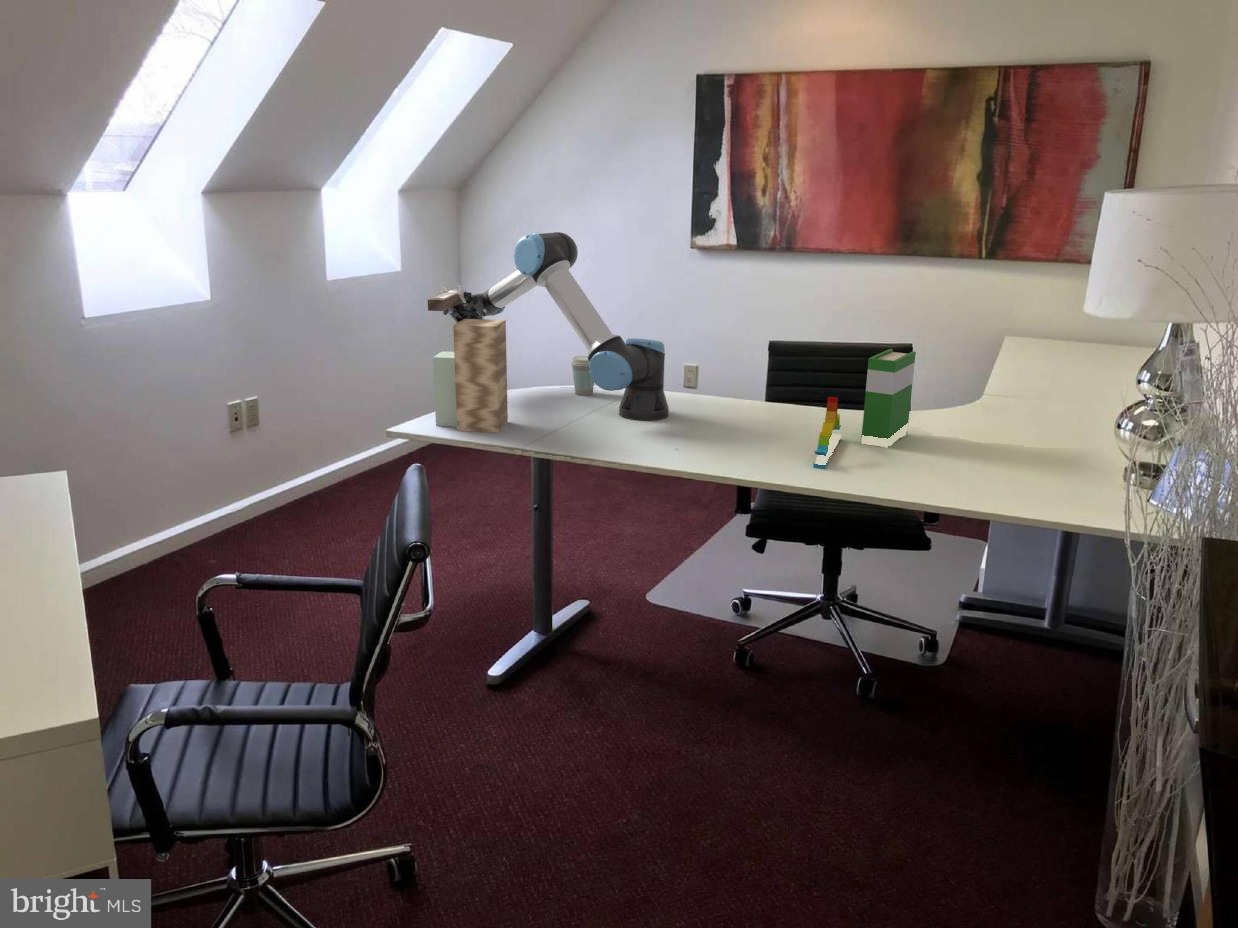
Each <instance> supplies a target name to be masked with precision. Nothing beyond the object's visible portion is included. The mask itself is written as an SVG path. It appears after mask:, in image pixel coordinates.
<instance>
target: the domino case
mask: <svg viewBox="0 0 1238 928" xmlns="http://www.w3.org/2000/svg"><path fill="white" fill-rule="evenodd" d="M464 290H465V289H464ZM465 292H467V291H466V290H465ZM462 302H463V301H462V300H461V298H460V297H459V295H458V290H454V289H450V290H447V292H445V293H442V294H440V293H439V294H437V295H435V296H433V297H430V298H428V299H427V311H429V312H431V311H432V312H443V311H445V310H447V309H450V308H452V307H454V306H456V305H458V304H460V303H462Z"/></svg>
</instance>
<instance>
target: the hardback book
mask: <svg viewBox="0 0 1238 928" xmlns="http://www.w3.org/2000/svg"><path fill="white" fill-rule="evenodd" d="M916 353H917V352H916V351H910V352H909V353H905V352H904V353H903V352H895V351H894V349H893V348H889V349H887V350H884V351H882V352H880V353H877V354H875V355H874V356H873V355H872V356H871V357H869V358H868V361H867V373H866V374H867V375H866V384H865V396H864V406H863V416H862V417H863V418H862V426H861V427H862V428H861V436H862V435H864V436H873V437H878V438H887V439H888V438H890V437H891V436H892V435H894V433H896V432H897V431H898V430H900V428H902V427H903V426H904V425H906V424H907V423H908V424H909V421H910V420H909V419H910V410H911V400H912V392H913V391H912V390H913V381H914V372H915V365H916V364H915V363H916Z"/></svg>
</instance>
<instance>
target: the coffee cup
mask: <svg viewBox="0 0 1238 928" xmlns="http://www.w3.org/2000/svg"><path fill="white" fill-rule="evenodd" d="M587 357H588V355H578V356H574V357H572V360H571V366H572V375H573V384H574V385H573V386H574V394H575V395H577V396H591V395H593V394H594V387H595V383H594V381H593V380H592V378H591V376H590V372H589V371H590V368H589V363H590V362H589V360H588V359H587Z"/></svg>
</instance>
